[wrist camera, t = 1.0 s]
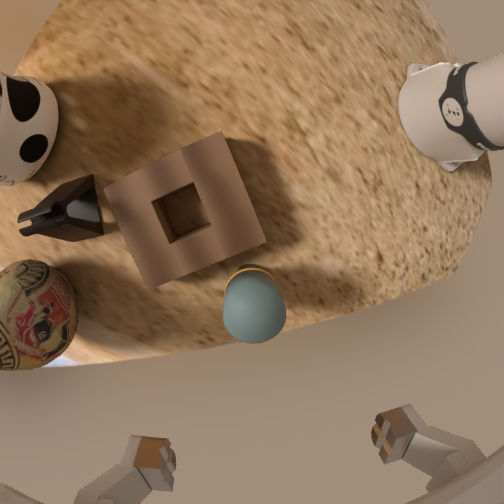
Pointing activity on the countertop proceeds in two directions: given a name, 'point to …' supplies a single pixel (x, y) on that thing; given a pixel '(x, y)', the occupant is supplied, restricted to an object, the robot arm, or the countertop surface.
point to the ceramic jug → (34, 315)
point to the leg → (253, 305)
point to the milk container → (25, 127)
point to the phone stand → (66, 212)
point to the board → (158, 221)
